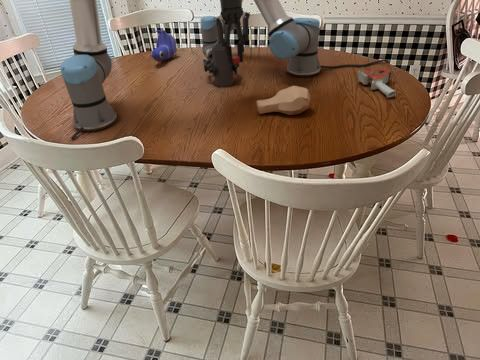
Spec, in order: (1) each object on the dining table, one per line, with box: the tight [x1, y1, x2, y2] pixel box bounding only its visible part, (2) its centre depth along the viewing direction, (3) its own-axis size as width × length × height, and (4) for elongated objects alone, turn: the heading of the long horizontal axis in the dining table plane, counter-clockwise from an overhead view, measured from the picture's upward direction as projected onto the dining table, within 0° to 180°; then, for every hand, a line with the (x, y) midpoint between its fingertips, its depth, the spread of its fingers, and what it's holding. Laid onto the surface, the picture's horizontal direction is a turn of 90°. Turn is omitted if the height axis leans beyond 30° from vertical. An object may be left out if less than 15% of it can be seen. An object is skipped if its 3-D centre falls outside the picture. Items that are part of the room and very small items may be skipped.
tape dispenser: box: [357, 66, 396, 99], centre depth 144 cm, size 18×5×20 cm
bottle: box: [212, 33, 235, 88], centre depth 153 cm, size 8×8×21 cm
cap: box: [232, 55, 241, 64], centre depth 137 cm, size 4×4×2 cm
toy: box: [150, 29, 178, 66], centre depth 185 cm, size 10×17×25 cm
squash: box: [255, 85, 312, 116], centre depth 130 cm, size 11×20×9 cm, turn 92°
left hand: (235, 62), depth 137 cm, fingers closed on cap, 4 cm apart
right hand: (225, 71), depth 151 cm, fingers closed on bottle, 8 cm apart
